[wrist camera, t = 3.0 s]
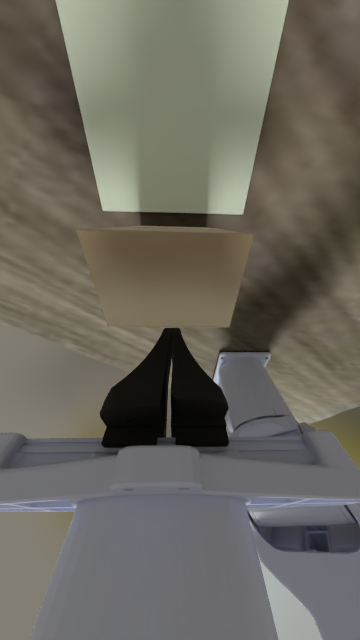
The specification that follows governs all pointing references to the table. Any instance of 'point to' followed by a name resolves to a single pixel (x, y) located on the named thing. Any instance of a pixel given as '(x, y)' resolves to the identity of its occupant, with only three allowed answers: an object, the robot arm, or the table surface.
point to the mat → (172, 97)
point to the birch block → (166, 274)
